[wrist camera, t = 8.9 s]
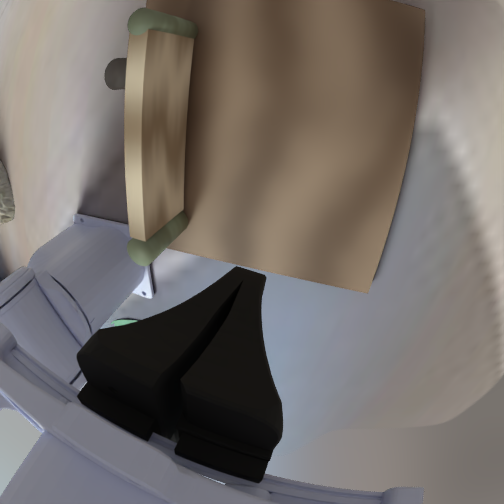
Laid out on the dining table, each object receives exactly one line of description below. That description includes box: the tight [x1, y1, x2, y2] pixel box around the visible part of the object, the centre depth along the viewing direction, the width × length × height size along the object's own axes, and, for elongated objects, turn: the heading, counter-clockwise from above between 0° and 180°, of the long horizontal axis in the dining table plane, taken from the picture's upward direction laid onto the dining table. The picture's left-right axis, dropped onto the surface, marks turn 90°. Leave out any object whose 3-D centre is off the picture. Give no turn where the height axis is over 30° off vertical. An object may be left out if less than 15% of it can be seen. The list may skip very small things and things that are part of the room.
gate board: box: [105, 0, 425, 293], centre depth 16 cm, size 18×20×5 cm
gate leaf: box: [124, 8, 198, 266], centre depth 16 cm, size 16×2×5 cm, turn 174°
